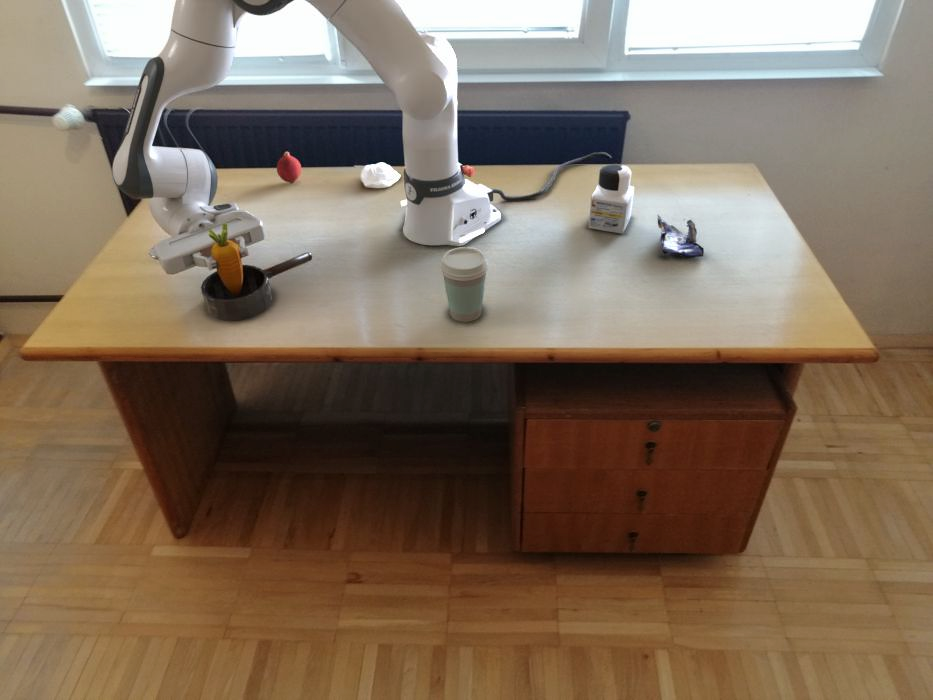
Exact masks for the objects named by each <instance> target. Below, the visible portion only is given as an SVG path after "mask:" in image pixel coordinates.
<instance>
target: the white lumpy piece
mask: <svg viewBox="0 0 933 700" xmlns="http://www.w3.org/2000/svg"><path fill="white" fill-rule="evenodd" d="M400 178H401V174H400V173H398V171H396V170H394V169H393V167H392V166H391V165H390V164H387V163H386V162H383V161H382V162H377V163H375V164H373V163H372V164H366V165H365V166H364V167H363V168H362V169H361V171H360V180H361V182H362V183H363V186H364V187H365V188H368V189H369V188H370V189H385V188H389V187H391V186H392V185H394V184H395V183H397V182H398V181H399V179H400Z"/></svg>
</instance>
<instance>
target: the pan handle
mask: <svg viewBox="0 0 933 700" xmlns="http://www.w3.org/2000/svg"><path fill="white" fill-rule="evenodd" d="M312 259H313V254H312V253H311V252H309V251H307V252H304V253H302V254H299V255H297V256H295V257H292V258H290V259H287V260H284V261H282V262H280V263H277V264H275V265H273V266H270V267H268V268H264V269H262V270H263V271H265V272H266V274H267V277H268V280H270V279H271V278H273V277H275V276H278V275H280V274H282V273H284V272H288V271H290V270H292V269H294V268H297V267H299V266H301V265H304V264H306V263H309V262H311V261H312ZM259 273H260V272H259ZM260 274H261V273H260ZM260 277H262V276H261V275H260ZM262 278H263V277H262Z"/></svg>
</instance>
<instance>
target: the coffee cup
mask: <svg viewBox="0 0 933 700" xmlns="http://www.w3.org/2000/svg"><path fill="white" fill-rule="evenodd" d="M439 269H440V272H441V274H442V277H443V282H444V288H445V293H446V298H447V304H448V309H449V315H450V317H451V318H452V319H453V320H455V321H457V322H461V323H468V322H473V321H475V320H478V319H479V318H480V317H481V315H482V311H483V302H484V294H485V287H486V286H485V285H486V278H487V272H488V270H489V264H488V260H487V258H486V255H485V254H484V252H483V251H482V250H480V249H478V248H474V247H470V246H458V247H455V248H451V249H449V250H447V251H446V252H445V253H444V254H443V257H442V260H441V262H440V266H439Z"/></svg>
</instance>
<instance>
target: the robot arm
mask: <svg viewBox="0 0 933 700" xmlns="http://www.w3.org/2000/svg"><path fill="white" fill-rule="evenodd" d="M294 1H295V0H175V3H174V7H173V12H172V17H171V25H170V31H169V36H168V39H167V42H166V43H165V45H164V47H163V49H162V50H161V51H160V52H159V54H158V55H157V56H155V57H152V58H149V60H148V61H147V63H146V65H145V66H144V69H143V71H142V74H141V76H140V79H139V81H138V86H137V88H136V92H135V94H134V98H133V102H132V105H131V109H130V112H129V116H128V119H127V122H126V126H125V129H124V132H123V136H122V139H121V141H120V144H119V145H118V148H117V150H116V152H115V154H114V157H113V161H112V170H111V171H112V180H113V182H114V184H115V185H116V187H117V188H118V189H119V190H120V191H121V192H122V193H124V194H125V195H126V196H128V197H129V198H130V199H132V200H145V199H146V200H147V199H148V208H149V211H150V214H151V215H152V218H153V219H154V221H155V222H156V224H157V225H158V226H159V227H160V228H161V229H162V230H163V231H164V233H166V234H167V235H169V236H170V237H169V238H165V239H163V240H161V241H159V242H157V243H156V244H154V245H153V246H152V248H150V249H149V250H148V255H149V256H150V257H151V258H152V259H154V260H158V262H159V264H160V265H159V266H160V267H161V269H162V270H163V271H164V273H166V275H171V276H172V275H176V274H177V275H178V274H179V273H182V272H185V271H187V270H189V269H192V268H195V267H199V268H200V267H201V268H206V269H208V270H209V271H212V270H215V269H216V268H217V267H218V265H217V262H216V260H215V259H214V258H213V257H212V254H211V250H212V247H213V245H214V244H216V242H215V241H214V240H213V239H212V238H211V237H209V233H210V232H209V230H212V231H213V232H214V233H215V234H216V235H217V237H218V234H220V235H221V233H222V230H223V224H222V223H226V224H227V232H228V234H227V240H230V241H232V242H234V243H236V244H237V245H238V247H239V251H240V255H241V259H243V258H246V257H248V256H249V255H250V254H249V250H248V248H247V247H249V246H252V245H254V244H257V243H259V242H262V241H265V239H266V230H265V226H264V223H263V221H262V220H261V219H260V218H258V217H257V216H256V215H254V214H252V213H251V212H249V211H247V210H245V209H239V207H238V205H237V203H235V202H229V203H223V204H215V205H212V203H213V201H214V199H215V197H216V194H217V190H218V181H219V180H218V172H217V169H216V166H215V165H214V163H213V161H212V160H211V158H210V157H209V155H208V154H207V153H206V152H204V151H203V150H202V149H197V148H196V149H195V148H188V147H187V148H186V147H168V146H159V145H153V143H154V140H155V136H156V133H157V131H158V127H159V124H160V121H161V118H162V114H163V112H164V110H165V108H166V106H167V105H168V104H170V102H172V101H173V100H176V99H178V98H180V97H183V96H186V95H188V94H192V93H193V94H194V93H196V92H201V91H206V90H208V89H211V88H213V87H216V86H217V85H219V84H221V83H222V82H223V81H224V80H225V79H226V78H227V77H228V76H229V74H230V72H231V69H232V66H233V63H234V58H235V51H236V46H237V45H236V44H237V38H238V31H239V27H240V23H241V20H242V19H243V16H244V15H246V14H247V13H248V14H250V15H253V16H269V15H273V14H275V13H277V12H280V11H281V10H282V9H284V8H285V7H286V6H287V5H288V4H291V3H292V2H294ZM304 1H306V2H307V3H308V4H310V5H311V6H312V7H313V8H315V9H316V10H317V12H319V13H320V14H321V15H322V16H323V17H324V18H325V19H326V20H328V22H329V24H331V25H332V26H333V27H334V28H335V29H336V30H337V31H338V32H339V33H340V34H341V35H342V36H343V37H344V38H345V39H346V40H347V41H348V42H349V43H351V45H352V46H354V48H355V49H356V50H358V52H359V53H360V54H361V55H362V56H363V58H364V59H365V60H366V62H368V63H369V65H370V66H371V68H372V69H373V70H374V72H375V73H376V75H377V76H378V78H379V79H380V81H382V83H383V84H384V85H385V87H386V88H387V89H388V90H389V92H390V93H391V94H392V95H393V97H394V99H395V101H396V103H397V105H398V107H399V108H400V110H401V111H402V131H401V132H402V136H401V137H402V147H403V158H404V160H403V161H404V169H403V184H404V192H405V197H406V199H404V200H401V201H400V205H401V207H403V206H405V216H404V222H403V226H402V234H403V236H404V237H405V238H406V239H408V240H409V241H411V242H413V243H416V244H417V245H418V244H419V245H422V246H423V245H424V246H453V247H463V246H464V245H466V244H467V243H469V242H470V241H472V240H473V239H475V238H477V237H478V236H479V235H481V234H484V233H485V231H487V230H488V229H490V228H491V227H493V226H494V225H495V224H497V223H499V222H500V221H502V214H501V212H500V211H499V209H498V208H496V207H495V206H494V205H492V204H491V202H493V201H494V194H498V195H499V196H500V198H501V199H502V200H504V201H511V202H512V201H526V200H531V199H535V198H538V197H540V196H542V195H543V194H545V193H547V191H548V190H549V189H550V187H551V186H552V184H553V183H554V181H555V180H556V177H557V174H558V173H559V172H560V171H561V170H562V169H564V168H566V167H569V166H570V165H571V166H572V165H575V164H577V163H582V162H584V161H586V160H589V159H592V158H595V157H605V158H607V159H612V156H611V155H610V154H609V153H607V152H603V151H598V152H593V153H590V154H588V155H584V156H582V157H579V158H576V159H575V158H574V159H572V160H569V161H566V162H563V163H562V164H560V165H559V166H557V167H556V168H555V169H554V171H553V172H552V175H551V177H550V179H549V180H548V182H547V183H546V185H545V186H544V187H543V189H541V190H540V191H537V192H534V193H531V194H527V195H522V196H509V195H505V193H504V192H503V190H501V189H498V188H489V187H487V186H486V185H483V184H482V183H478V184H476V183H474V182H472V181H471V180H469V179H467V178H466V177H465V176H467V177H468V178H472V177H473V176H474V175H475V171H476V170H475V169H474V167H471V166H469V165H464V166H463V164H462V163H460V162H459V150H458V149H459V146H458V71H457V70H458V69H457V67H458V66H457V58H456V54H455V52H454V50H453V48H452V46H451V44H450V43H449V42H448V40H447V39H446V38H445V37H443V36H442V35H440V34H438V33H436V32H435V33H434V32H425V33H424V32H423V33H421V34H420V32H419V31H418V29H417V28H416V27H415V25H414V24H413V23H412V21H411V19H410V18H409V17H408V15H407V13H406V12H405V10H404V8H403V6H402V5H401V3H399V1H397V0H304ZM218 238H219V237H218ZM219 240H220V239H219Z"/></svg>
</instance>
